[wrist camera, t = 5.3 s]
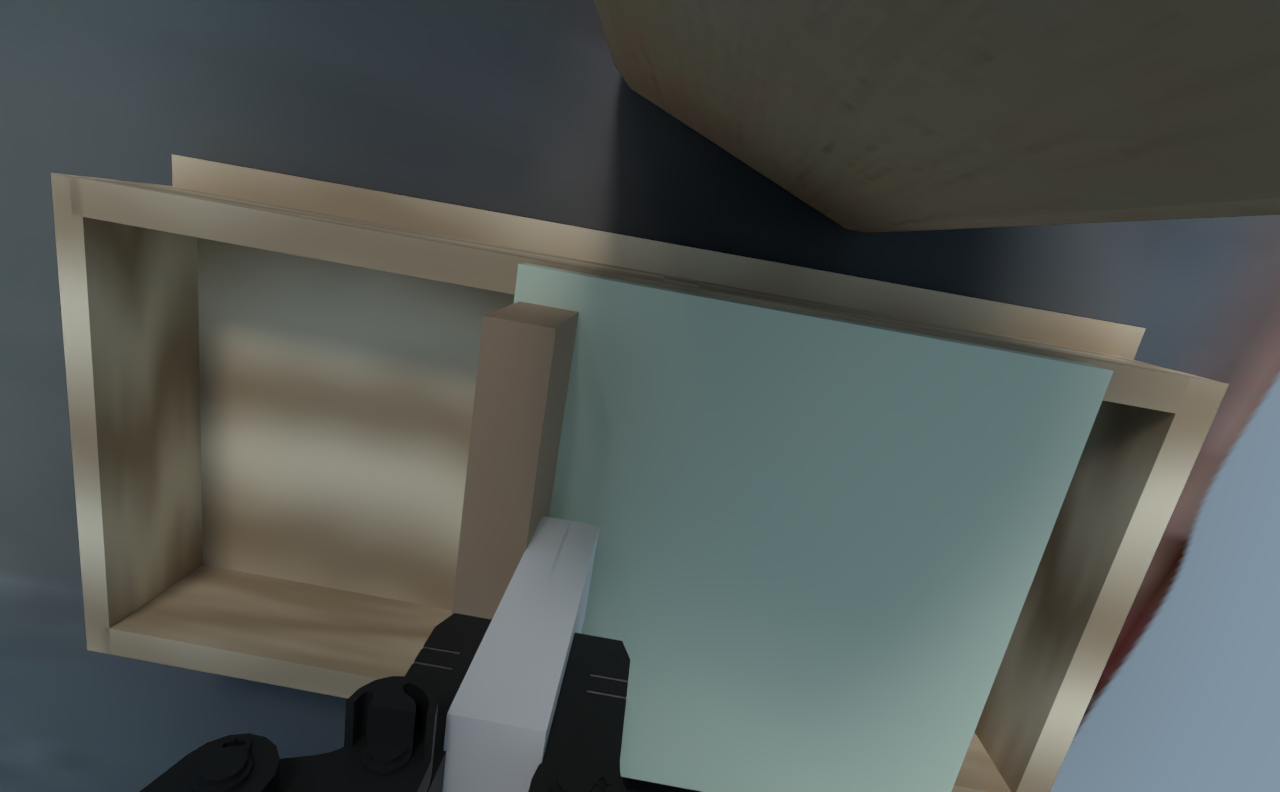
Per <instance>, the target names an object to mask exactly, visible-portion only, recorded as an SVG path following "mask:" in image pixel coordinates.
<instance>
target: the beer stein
mask: <svg viewBox="0 0 1280 792" xmlns="http://www.w3.org/2000/svg"><path fill="white" fill-rule="evenodd" d="M622 781H623V784H624V786H625V788H626V789H627V791H628V792H701V791H696V790H691V789H685V788H680V787H675V786H669V785H664V784H659V783H653V782H648V781H642V780H637V779H632V778H626V777H622Z"/></svg>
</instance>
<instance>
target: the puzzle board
mask: <svg viewBox="0 0 1280 792" xmlns="http://www.w3.org/2000/svg"><path fill="white" fill-rule="evenodd" d="M51 182H52V195H53V208H54V221H55V235H56V248H57V261H58V274H59V287H60V300H61V313H62V326H63V339H64V352H65V365H66V378H67V391H68V404H69V417H70V431H71V444H72V457H73V470H74V483H75V496H76V509H77V522H78V535H79V548H80V561H81V574H82V587H83V600H84V614H85V627H86V640H87V650H90V651H95V652H101V653H106V654H111V655H117V656H122V657H127V658H133V659H138V660H144V661H149V662H154V663H160V664H165V665H170V666H176V667H181V668H186V669H192V670H197V671H203V672H208V673H213V674H219V675H224V676H229V677H235V678H240V679H246V680H251V681H256V682H262V683H267V684H272V685H278V686H283V687H289V688H294V689H299V690H305V691H310V692H315V693H321V694H326V695H332V696H337V697H342V698H349V697H350V696H351V695H352V694H353V693H354V692H355V691H356V690H358V689H359V688H361V687H362V686H364V685H366V684H368V683H370V682H372V681H374V680H377V679H382V678H386V677H390V676H405V675H406V673H407V671H408V670H409V668H410V666H411V665H412V664H414V660H415V658H416V657H417V655H418V654H419V652H420V650H421V649H423V646H424V644H425V642H426V641H427V639H428V637H429V636H430V634H431V632H432V631H433V629H434V628H435V626H437V625H438V624H440V623H441V622H442V621H444V620H445V619H447V618H448V617H449V616H451V615H452V606H453V597H454V587H455V578H456V568H457V559H458V549H459V540H460V530H461V521H462V511H463V502H464V492H465V483H466V473H467V464H468V454H469V444H470V435H471V425H472V416H473V406H474V397H475V387H476V378H477V368H478V359H479V349H480V340H481V330H482V321H483V315H486V314H488V313H491V312H494V311H496V310H499V309H501V308H504V307H506V306H509V305H512V304H514V296H515V287H516V279H517V270H518V264H521V263H530V264H535V265H541V266H546V267H552V268H558V269H563V270H569V271H574V272H580V273H585V274H591V275H597V276H602V277H608V278H613V279H619V280H624V281H630V282H636V283H641V284H647V285H652V286H658V287H663V288H669V289H675V290H680V291H686V292H691V293H697V294H702V295H708V296H714V297H719V298H725V299H730V300H736V301H741V302H747V303H753V304H758V305H764V306H769V307H775V308H780V309H786V310H792V311H797V312H803V313H808V314H814V315H819V316H825V317H830V318H836V319H842V320H847V321H853V322H858V323H864V324H869V325H875V326H881V327H886V328H892V329H897V330H903V331H908V332H914V333H920V334H925V335H931V336H936V337H942V338H947V339H953V340H959V341H964V342H970V343H975V344H981V345H986V346H992V347H998V348H1003V349H1009V350H1014V351H1020V352H1025V353H1031V354H1037V355H1042V356H1048V357H1053V358H1059V359H1064V360H1070V361H1076V362H1081V363H1087V364H1092V365H1095V366H1099V367H1102V368H1106V369H1109V370H1113V371H1114V372H1113V374H1112V377H1111V380H1110V382H1109V385H1108V387H1107V390H1106V393H1105V395H1104V398H1103V400H1102V403H1101V405H1100V408H1099V411H1098V413H1097V416H1096V418H1095V421H1094V424H1093V426H1092V429H1091V431H1090V434H1089V437H1088V439H1087V442H1086V444H1085V447H1084V450H1083V452H1082V455H1081V457H1080V460H1079V462H1078V465H1077V468H1076V470H1075V473H1074V475H1073V478H1072V481H1071V483H1070V486H1069V488H1068V491H1067V494H1066V496H1065V499H1064V501H1063V504H1062V506H1061V509H1060V512H1059V514H1058V517H1057V519H1056V522H1055V525H1054V527H1053V530H1052V532H1051V535H1050V538H1049V540H1048V543H1047V545H1046V548H1045V551H1044V553H1043V556H1042V558H1041V561H1040V563H1039V566H1038V569H1037V571H1036V574H1035V576H1034V579H1033V582H1032V584H1031V587H1030V589H1029V592H1028V595H1027V597H1026V600H1025V602H1024V605H1023V608H1022V610H1021V613H1020V615H1019V618H1018V620H1017V623H1016V626H1015V628H1014V631H1013V633H1012V636H1011V639H1010V641H1009V644H1008V646H1007V649H1006V652H1005V654H1004V657H1003V659H1002V662H1001V664H1000V667H999V670H998V672H997V675H996V677H995V680H994V683H993V685H992V688H991V690H990V693H989V696H988V698H987V701H986V703H985V706H984V709H983V711H982V714H981V716H980V719H979V721H978V724H977V727H976V729H975V732H974V734H973V737H972V740H971V742H970V745H969V747H968V750H967V753H966V755H965V758H964V760H963V763H962V766H961V768H960V771H959V773H958V776H957V778H956V781H955V784H954V786H953V789H952V791H951V792H1050V790H1051V788H1052V786H1053V783H1054V781H1055V779H1056V777H1057V774H1058V772H1059V770H1060V768H1061V765H1062V763H1063V760H1064V758H1065V756H1066V754H1067V752H1068V749H1069V747H1070V745H1071V743H1072V740H1073V738H1074V736H1075V733H1076V731H1077V729H1078V727H1079V724H1080V722H1081V720H1082V717H1083V715H1084V713H1085V711H1086V708H1087V706H1088V704H1089V702H1090V699H1091V697H1092V695H1093V692H1094V690H1095V688H1096V686H1097V683H1098V681H1099V679H1100V677H1101V674H1102V672H1103V670H1104V667H1105V665H1106V663H1107V661H1108V658H1109V656H1110V654H1111V652H1112V649H1113V647H1114V645H1115V642H1116V640H1117V638H1118V636H1119V633H1120V631H1121V629H1122V626H1123V624H1124V622H1125V620H1126V617H1127V615H1128V613H1129V611H1130V608H1131V606H1132V604H1133V601H1134V599H1135V597H1136V595H1137V592H1138V590H1139V588H1140V586H1141V583H1142V581H1143V579H1144V576H1145V574H1146V572H1147V570H1148V567H1149V565H1150V563H1151V560H1152V558H1153V556H1154V554H1155V551H1156V549H1157V547H1158V545H1159V542H1160V540H1161V538H1162V535H1163V533H1164V531H1165V529H1166V526H1167V524H1168V522H1169V520H1170V517H1171V515H1172V513H1173V510H1174V508H1175V506H1176V504H1177V501H1178V499H1179V497H1180V495H1181V492H1182V490H1183V488H1184V485H1185V483H1186V481H1187V479H1188V476H1189V474H1190V472H1191V469H1192V467H1193V465H1194V463H1195V460H1196V458H1197V456H1198V454H1199V451H1200V449H1201V447H1202V444H1203V442H1204V440H1205V438H1206V435H1207V433H1208V431H1209V429H1210V426H1211V424H1212V422H1213V419H1214V417H1215V415H1216V413H1217V410H1218V408H1219V406H1220V404H1221V401H1222V399H1223V397H1224V394H1225V392H1226V390H1227V388H1228V385H1229V384H1226V383H1222V382H1218V381H1214V380H1211V379H1207V378H1203V377H1199V376H1195V375H1191V374H1187V373H1183V372H1179V371H1175V370H1172V369H1168V368H1164V367H1160V366H1156V365H1152V364H1148V363H1144V362H1140V361H1136V360H1134V357H1135V355H1136V352H1137V349H1138V347H1139V344H1140V342H1141V339H1142V337H1143V334H1144V332H1145V328H1140V327H1135V326H1129V325H1124V324H1118V323H1112V322H1107V321H1101V320H1096V319H1090V318H1085V317H1079V316H1073V315H1068V314H1062V313H1057V312H1051V311H1045V310H1040V309H1034V308H1029V307H1023V306H1017V305H1012V304H1006V303H1001V302H995V301H990V300H984V299H978V298H973V297H967V296H962V295H956V294H950V293H945V292H939V291H934V290H928V289H922V288H917V287H911V286H906V285H900V284H895V283H889V282H883V281H878V280H872V279H867V278H861V277H855V276H850V275H844V274H839V273H833V272H827V271H822V270H816V269H811V268H805V267H799V266H794V265H788V264H783V263H777V262H772V261H766V260H760V259H755V258H749V257H744V256H738V255H732V254H727V253H721V252H716V251H710V250H704V249H699V248H693V247H688V246H682V245H677V244H671V243H665V242H660V241H654V240H649V239H643V238H637V237H632V236H626V235H621V234H615V233H609V232H604V231H598V230H593V229H587V228H582V227H576V226H570V225H565V224H559V223H554V222H548V221H542V220H537V219H531V218H526V217H520V216H514V215H509V214H503V213H498V212H492V211H486V210H481V209H475V208H470V207H464V206H459V205H453V204H447V203H442V202H436V201H431V200H425V199H419V198H414V197H408V196H403V195H397V194H391V193H386V192H380V191H375V190H369V189H364V188H358V187H352V186H347V185H341V184H336V183H330V182H324V181H319V180H313V179H308V178H302V177H296V176H291V175H285V174H280V173H274V172H269V171H263V170H257V169H252V168H246V167H241V166H235V165H229V164H224V163H218V162H213V161H207V160H201V159H196V158H190V157H184V156H179V155H173V154H172V182H173V186H166V185H157V184H148V183H139V182H130V181H121V180H112V179H103V178H94V177H85V176H76V175H67V174H58V173H51Z"/></svg>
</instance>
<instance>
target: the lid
mask: <svg viewBox="0 0 1280 792" xmlns="http://www.w3.org/2000/svg"><path fill="white" fill-rule="evenodd" d="M1113 372H1114V371H1113V370H1109V369H1106V368H1102V367H1099V366H1095V365H1092V364H1087V363H1081V362H1076V361H1070V360H1064V359H1059V358H1053V357H1048V356H1042V355H1037V354H1031V353H1025V352H1020V351H1014V350H1009V349H1003V348H998V347H992V346H986V345H981V344H975V343H970V342H964V341H959V340H953V339H947V338H942V337H936V336H931V335H925V334H920V333H914V332H908V331H903V330H897V329H892V328H886V327H881V326H875V325H869V324H864V323H858V322H853V321H847V320H842V319H836V318H830V317H825V316H819V315H814V314H808V313H803V312H797V311H792V310H786V309H780V308H775V307H769V306H764V305H758V304H753V303H747V302H741V301H736V300H730V299H725V298H719V297H714V296H708V295H702V294H697V293H691V292H686V291H680V290H675V289H669V288H663V287H658V286H652V285H647V284H641V283H636V282H630V281H624V280H619V279H613V278H608V277H602V276H597V275H591V274H585V273H580V272H574V271H569V270H563V269H558V268H552V267H546V266H541V265H535V264H530V263H521V264H518V270H517V279H516V287H515V296H514V304H512V305H509V306H506V307H504V308H501V309H499V310H496V311H494V312H491V313H488V314H486V315H483V321H482V330H481V340H480V349H479V359H478V368H477V378H476V387H475V397H474V406H473V416H472V425H471V435H470V444H469V454H468V464H467V473H466V483H465V492H464V502H463V511H462V521H461V530H460V540H459V549H458V559H457V568H456V578H455V587H454V597H453V606H452V614H454V613H458V614H464V615H469V616H475V617H481V618H486V619H493V616H494V614H495V612H496V610H497V608H498V606H499V604H500V602H501V600H502V598H503V596H504V593H505V591H506V589H507V587H508V585H509V583H510V581H511V579H512V577H513V575H514V573H515V570H516V568H517V566H518V564H519V562H520V560H521V558H522V556H523V554H524V552H525V550H526V549H527V547H528V545H529V543H530V540H531V538H532V536H533V534H534V532H535V530H536V528H537V526H538V524H539V522H540V519H541V517H542V516H547V517H552V518H558V519H564V520H569V521H575V522H581V523H586V524H592V525H598V526H599V532H598V538H597V545H596V551H595V557H594V563H593V569H592V576H591V582H590V588H589V594H588V600H587V607H586V613H585V619H584V623H583V627H582V632H581V634H586V635H592V636H598V637H603V638H609V639H614V640H620V641H622V642H623V644H624V646H625V649H626V651H627V653H628V655H629V658H630V668H629V678H628V687H627V697H626V707H625V716H624V726H623V736H622V746H621V755H620V774H621V777H626V778H632V779H637V780H642V781H648V782H653V783H659V784H664V785H669V786H675V787H680V788H685V789H691V790H696V791H701V792H951V791H952V789H953V786H954V784H955V781H956V778H957V776H958V773H959V771H960V768H961V766H962V763H963V760H964V758H965V755H966V753H967V750H968V747H969V745H970V742H971V740H972V737H973V734H974V732H975V729H976V727H977V724H978V721H979V719H980V716H981V714H982V711H983V709H984V706H985V703H986V701H987V698H988V696H989V693H990V690H991V688H992V685H993V683H994V680H995V677H996V675H997V672H998V670H999V667H1000V664H1001V662H1002V659H1003V657H1004V654H1005V652H1006V649H1007V646H1008V644H1009V641H1010V639H1011V636H1012V633H1013V631H1014V628H1015V626H1016V623H1017V620H1018V618H1019V615H1020V613H1021V610H1022V608H1023V605H1024V602H1025V600H1026V597H1027V595H1028V592H1029V589H1030V587H1031V584H1032V582H1033V579H1034V576H1035V574H1036V571H1037V569H1038V566H1039V563H1040V561H1041V558H1042V556H1043V553H1044V551H1045V548H1046V545H1047V543H1048V540H1049V538H1050V535H1051V532H1052V530H1053V527H1054V525H1055V522H1056V519H1057V517H1058V514H1059V512H1060V509H1061V506H1062V504H1063V501H1064V499H1065V496H1066V494H1067V491H1068V488H1069V486H1070V483H1071V481H1072V478H1073V475H1074V473H1075V470H1076V468H1077V465H1078V462H1079V460H1080V457H1081V455H1082V452H1083V450H1084V447H1085V444H1086V442H1087V439H1088V437H1089V434H1090V431H1091V429H1092V426H1093V424H1094V421H1095V418H1096V416H1097V413H1098V411H1099V408H1100V405H1101V403H1102V400H1103V398H1104V395H1105V393H1106V390H1107V387H1108V385H1109V382H1110V380H1111V377H1112V374H1113Z"/></svg>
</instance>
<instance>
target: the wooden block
mask: <svg viewBox="0 0 1280 792" xmlns="http://www.w3.org/2000/svg"><path fill="white" fill-rule="evenodd" d="M594 3H595V6H596V9H597V12H598V15H599V18H600V21H601V24H602V27H603V30H604V33H605V36H606V39H607V42H608V45H609V48H610V51H611V54H612V57H613V60H614V63H615V66H616V68H617V69H618V71H619V72H620V74H621V75H622V77H623V78H624V80H625V81H626V83H627V84H628V86H629V87H630V89H632V90H634V91H635V92H637V93H638V94H640V95H641V96H643V97H644V98H646V99H647V100H649V101H650V102H652V103H653V104H655V105H656V106H658V107H660V108H661V109H663V110H664V111H666V112H667V113H669V114H670V115H672V116H673V117H675V118H676V119H678V120H679V121H681V122H683V123H684V124H686V125H687V126H689V127H690V128H692V129H693V130H695V131H696V132H698V133H699V134H701V135H702V136H704V137H706V138H707V139H709V140H710V141H712V142H713V143H715V144H716V145H718V146H719V147H721V148H722V149H724V150H725V151H727V152H728V153H730V154H732V155H733V156H735V157H736V158H738V159H739V160H741V161H742V162H744V163H745V164H747V165H748V166H750V167H751V168H753V169H755V170H756V171H758V172H759V173H761V174H762V175H764V176H765V177H767V178H768V179H770V180H771V181H773V182H774V183H776V184H777V185H779V186H781V187H782V188H784V189H785V190H787V191H788V192H790V193H791V194H793V195H794V196H796V197H797V198H799V199H800V200H802V201H804V202H805V203H807V204H808V205H810V206H811V207H813V208H814V209H816V210H817V211H819V212H820V213H822V214H823V215H825V216H827V217H828V218H830V219H831V220H833V221H834V222H836V223H837V224H839V225H840V226H842V227H843V228H845V229H848V230H854V231H861V232H867V233H880V232H902V231H925V230H947V229H969V228H991V227H1014V226H1036V225H1058V224H1080V223H1103V222H1125V221H1147V220H1169V219H1192V218H1214V217H1236V216H1258V215H1280V0H594Z"/></svg>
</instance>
